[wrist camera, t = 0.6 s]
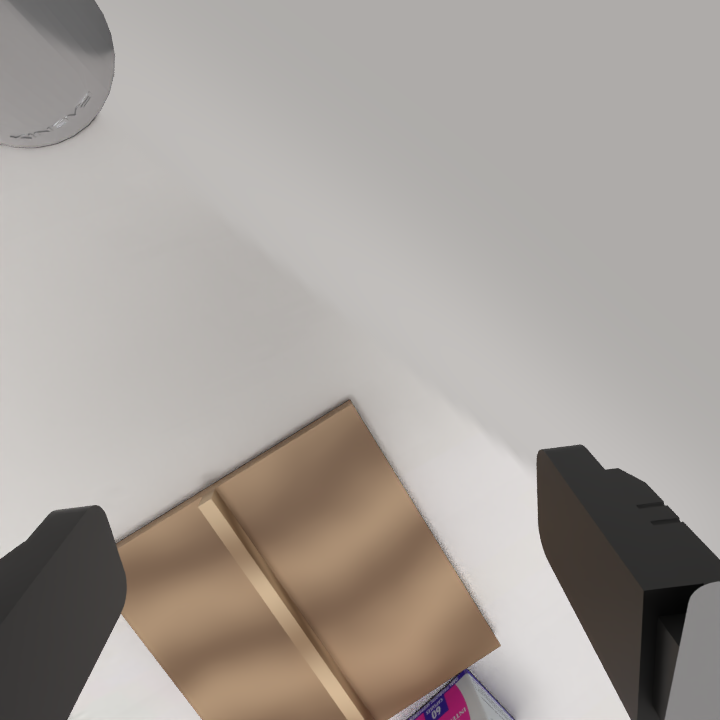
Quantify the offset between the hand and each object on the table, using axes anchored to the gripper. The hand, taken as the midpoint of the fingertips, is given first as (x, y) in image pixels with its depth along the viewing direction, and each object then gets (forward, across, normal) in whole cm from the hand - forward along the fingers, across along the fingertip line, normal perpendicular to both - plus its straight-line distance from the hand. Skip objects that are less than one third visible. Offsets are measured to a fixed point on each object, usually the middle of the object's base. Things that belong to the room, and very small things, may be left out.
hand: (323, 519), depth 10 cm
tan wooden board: (+18, +4, +18) cm, 26 cm away
